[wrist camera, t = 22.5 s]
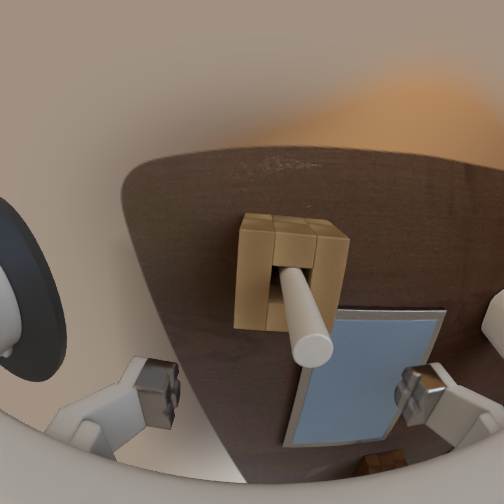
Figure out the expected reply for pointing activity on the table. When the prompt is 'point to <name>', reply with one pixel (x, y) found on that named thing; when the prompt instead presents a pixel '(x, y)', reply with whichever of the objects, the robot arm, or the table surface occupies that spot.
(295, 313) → the stylus
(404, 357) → the tablet
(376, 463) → the pen stand
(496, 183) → the table surface
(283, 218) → the block
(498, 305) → the cup
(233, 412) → the table surface
